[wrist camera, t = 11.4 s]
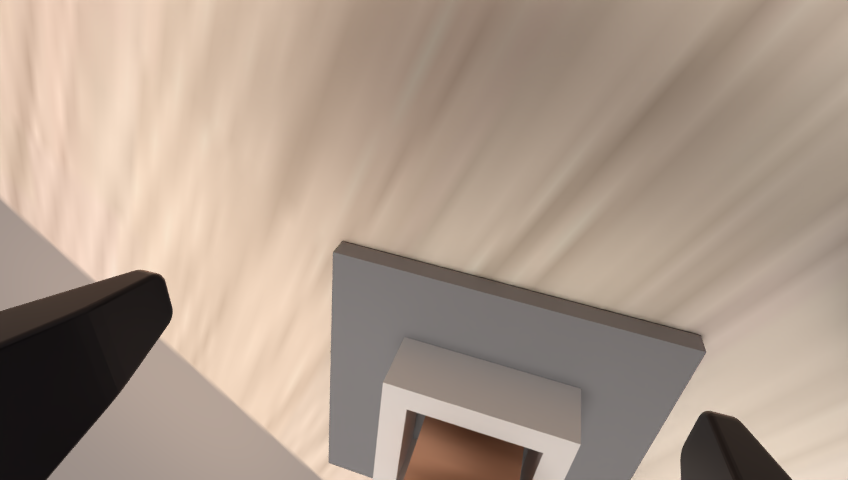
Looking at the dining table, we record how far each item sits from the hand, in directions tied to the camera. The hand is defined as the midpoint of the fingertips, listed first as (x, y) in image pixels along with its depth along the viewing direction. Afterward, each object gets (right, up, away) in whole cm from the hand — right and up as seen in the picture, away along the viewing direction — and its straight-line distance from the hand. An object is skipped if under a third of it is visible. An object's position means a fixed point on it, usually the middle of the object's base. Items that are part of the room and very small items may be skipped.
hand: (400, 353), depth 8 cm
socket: (+3, -7, +18) cm, 19 cm away
